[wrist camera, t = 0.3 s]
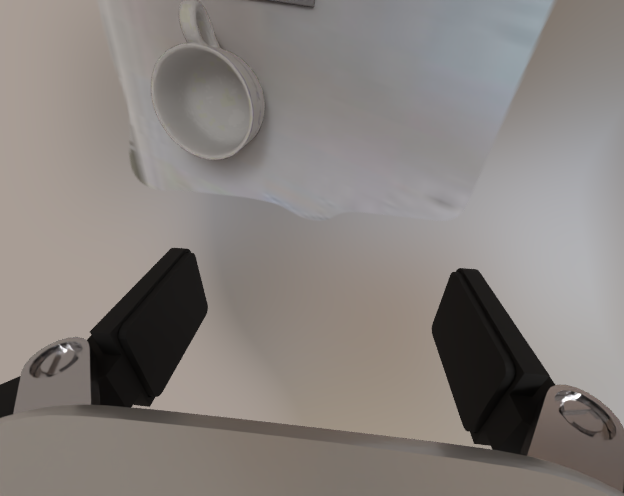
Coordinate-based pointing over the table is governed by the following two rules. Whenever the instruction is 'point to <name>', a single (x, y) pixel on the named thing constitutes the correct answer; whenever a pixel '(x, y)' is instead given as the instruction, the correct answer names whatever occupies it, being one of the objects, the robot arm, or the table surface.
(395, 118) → the table surface
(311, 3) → the mat
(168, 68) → the teacup
